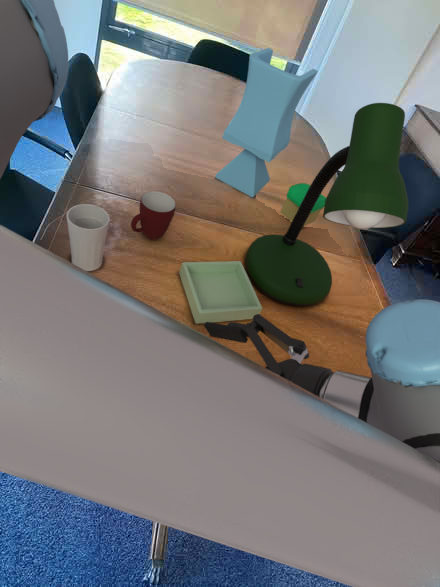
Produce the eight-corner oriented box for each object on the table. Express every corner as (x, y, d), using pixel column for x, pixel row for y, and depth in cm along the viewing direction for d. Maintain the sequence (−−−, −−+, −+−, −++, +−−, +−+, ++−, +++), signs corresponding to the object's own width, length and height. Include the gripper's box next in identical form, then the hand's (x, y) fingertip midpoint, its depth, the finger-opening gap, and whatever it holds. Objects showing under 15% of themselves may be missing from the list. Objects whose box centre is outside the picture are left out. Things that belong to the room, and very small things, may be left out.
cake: (292, 202, 124) (306, 175, 117) (318, 221, 120) (333, 194, 113) (274, 209, 118) (287, 181, 111) (300, 230, 114) (315, 202, 107)
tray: (195, 324, 80) (199, 313, 78) (179, 273, 89) (182, 262, 86) (257, 318, 86) (262, 308, 83) (236, 271, 95) (240, 260, 92)
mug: (143, 254, 90) (149, 220, 83) (120, 234, 92) (124, 199, 85) (175, 238, 97) (183, 205, 90) (153, 220, 99) (159, 187, 92)
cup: (59, 258, 82) (57, 213, 74) (88, 243, 87) (89, 199, 79) (85, 279, 80) (86, 235, 72) (114, 262, 86) (118, 219, 77)
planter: (272, 181, 129) (318, 70, 105) (254, 200, 118) (301, 81, 94) (232, 160, 132) (268, 47, 107) (211, 177, 121) (245, 55, 96)
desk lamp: (345, 341, 89) (496, 167, 57) (252, 329, 83) (361, 131, 52) (316, 251, 109) (415, 87, 77) (240, 237, 104) (313, 55, 72)
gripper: (298, 526, 40) (152, 457, 52) (361, 336, 53) (232, 317, 65) (278, 501, 35) (122, 431, 47) (353, 299, 48) (215, 286, 60)
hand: (186, 365), depth 56 cm, fingers open, 13 cm apart
